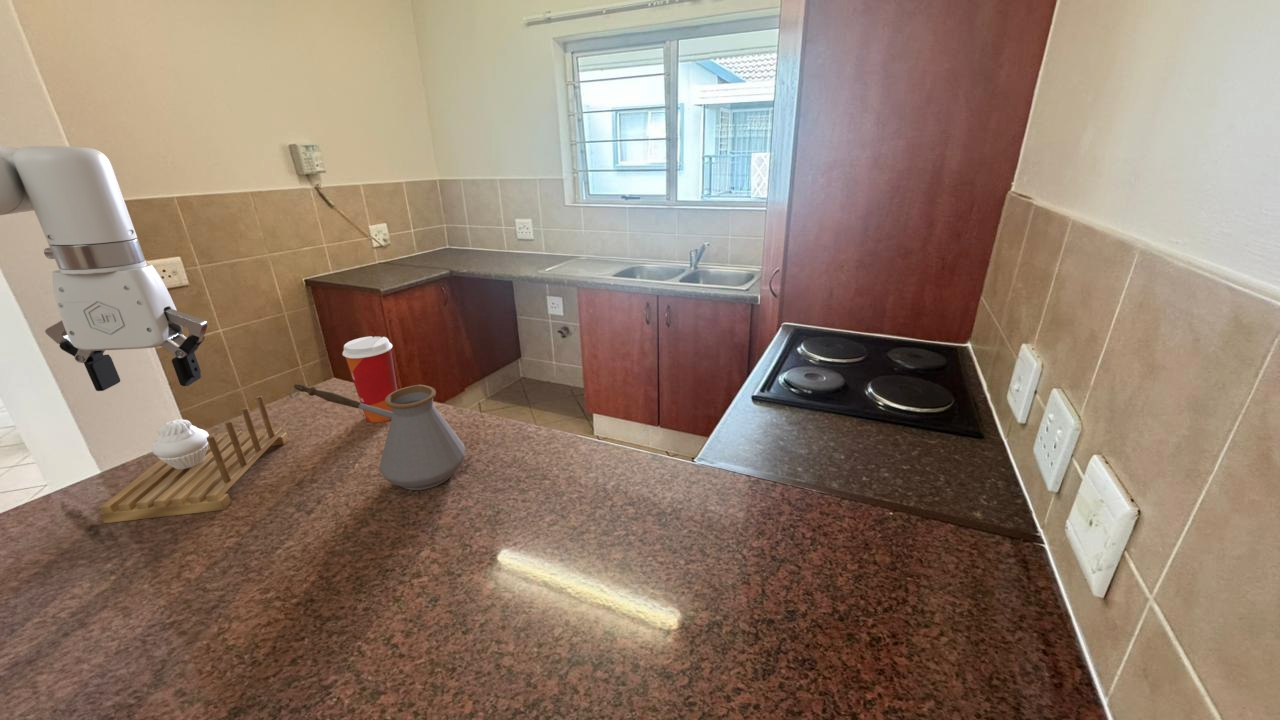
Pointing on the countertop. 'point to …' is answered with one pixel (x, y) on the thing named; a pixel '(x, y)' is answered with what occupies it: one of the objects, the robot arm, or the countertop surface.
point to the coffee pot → (410, 437)
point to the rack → (195, 476)
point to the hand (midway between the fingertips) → (150, 384)
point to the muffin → (181, 444)
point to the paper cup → (372, 372)
